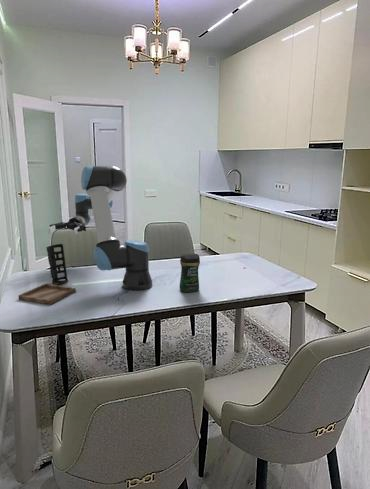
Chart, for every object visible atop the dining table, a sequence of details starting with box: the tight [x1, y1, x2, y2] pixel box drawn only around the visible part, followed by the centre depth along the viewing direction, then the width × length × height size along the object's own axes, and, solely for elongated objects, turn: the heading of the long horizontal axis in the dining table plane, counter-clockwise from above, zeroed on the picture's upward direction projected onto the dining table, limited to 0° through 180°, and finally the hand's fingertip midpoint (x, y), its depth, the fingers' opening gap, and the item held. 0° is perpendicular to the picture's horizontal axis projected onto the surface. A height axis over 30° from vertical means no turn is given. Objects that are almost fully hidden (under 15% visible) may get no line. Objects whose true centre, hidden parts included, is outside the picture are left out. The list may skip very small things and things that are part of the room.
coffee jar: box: [179, 253, 201, 293], centre depth 183 cm, size 10×8×19 cm
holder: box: [46, 243, 69, 286], centre depth 191 cm, size 11×8×20 cm
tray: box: [17, 283, 77, 306], centre depth 175 cm, size 18×18×2 cm
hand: (62, 231), depth 196 cm, fingers open, 13 cm apart
